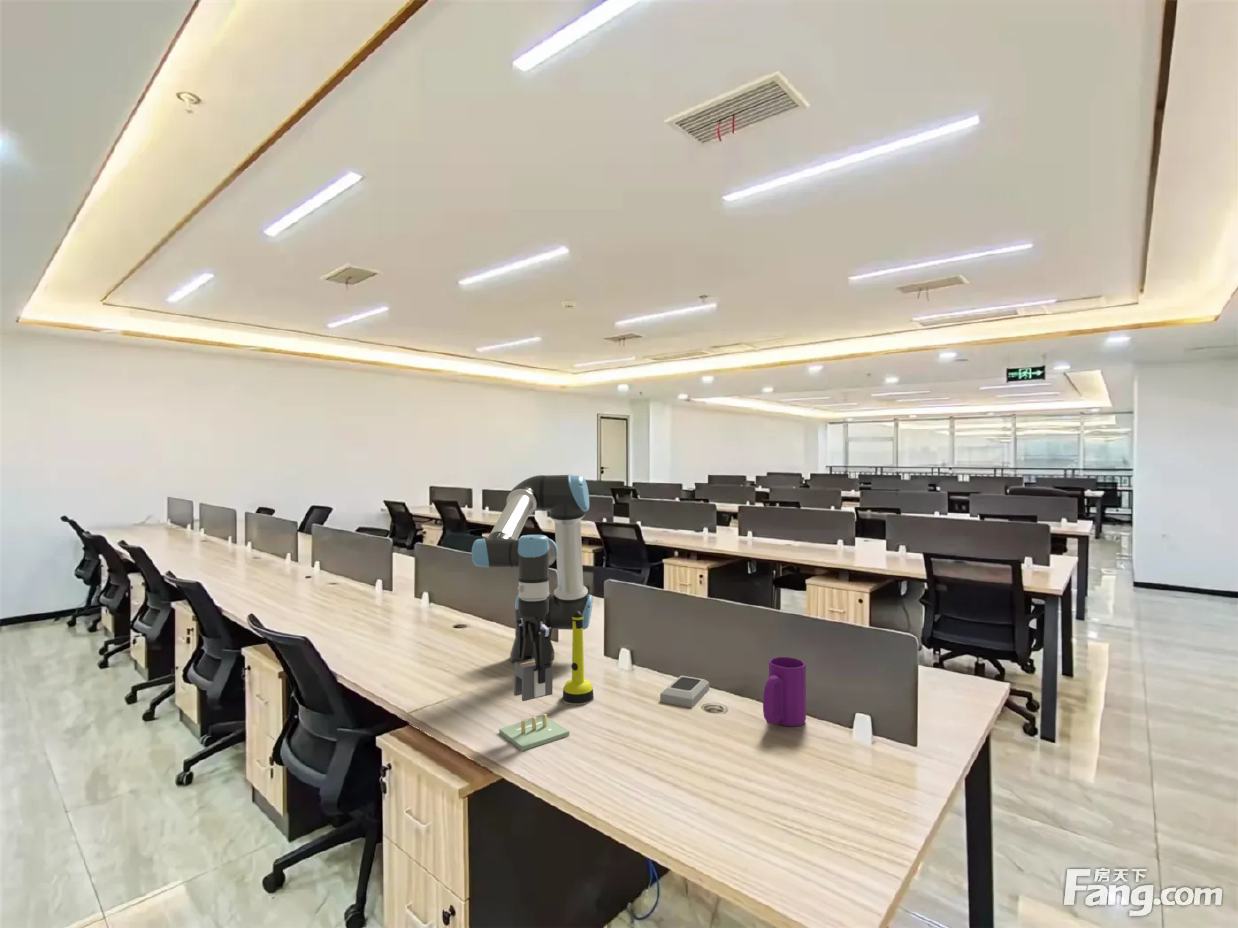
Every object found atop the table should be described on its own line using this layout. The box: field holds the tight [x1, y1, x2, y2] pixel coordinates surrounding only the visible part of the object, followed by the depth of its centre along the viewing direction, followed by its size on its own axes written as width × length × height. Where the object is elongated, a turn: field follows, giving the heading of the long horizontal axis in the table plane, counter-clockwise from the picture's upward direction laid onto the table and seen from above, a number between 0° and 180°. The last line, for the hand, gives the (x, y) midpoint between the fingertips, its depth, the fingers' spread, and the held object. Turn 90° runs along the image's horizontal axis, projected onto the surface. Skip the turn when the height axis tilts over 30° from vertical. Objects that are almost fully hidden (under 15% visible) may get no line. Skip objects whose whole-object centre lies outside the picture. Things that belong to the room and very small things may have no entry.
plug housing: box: [513, 659, 554, 702], centre depth 147 cm, size 8×5×8 cm, turn 126°
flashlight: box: [561, 611, 595, 706], centre depth 169 cm, size 25×9×9 cm
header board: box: [499, 713, 570, 752], centre depth 147 cm, size 13×12×4 cm
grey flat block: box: [659, 675, 710, 709], centre depth 171 cm, size 10×4×15 cm
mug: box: [762, 656, 807, 727], centre depth 152 cm, size 9×16×15 cm, turn 136°
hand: (533, 692), depth 147 cm, fingers closed on plug housing, 5 cm apart
